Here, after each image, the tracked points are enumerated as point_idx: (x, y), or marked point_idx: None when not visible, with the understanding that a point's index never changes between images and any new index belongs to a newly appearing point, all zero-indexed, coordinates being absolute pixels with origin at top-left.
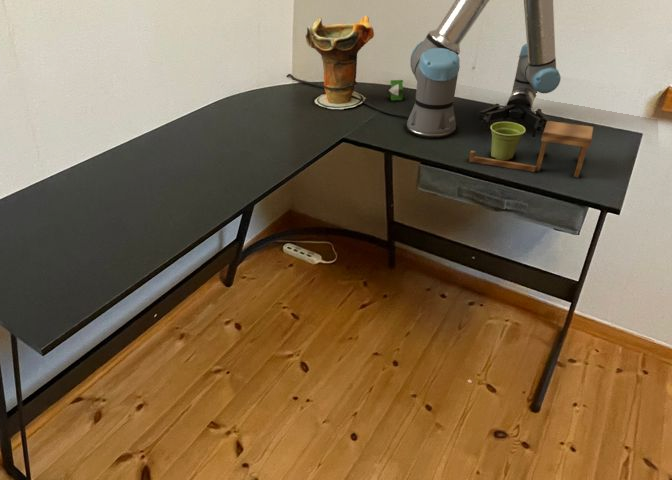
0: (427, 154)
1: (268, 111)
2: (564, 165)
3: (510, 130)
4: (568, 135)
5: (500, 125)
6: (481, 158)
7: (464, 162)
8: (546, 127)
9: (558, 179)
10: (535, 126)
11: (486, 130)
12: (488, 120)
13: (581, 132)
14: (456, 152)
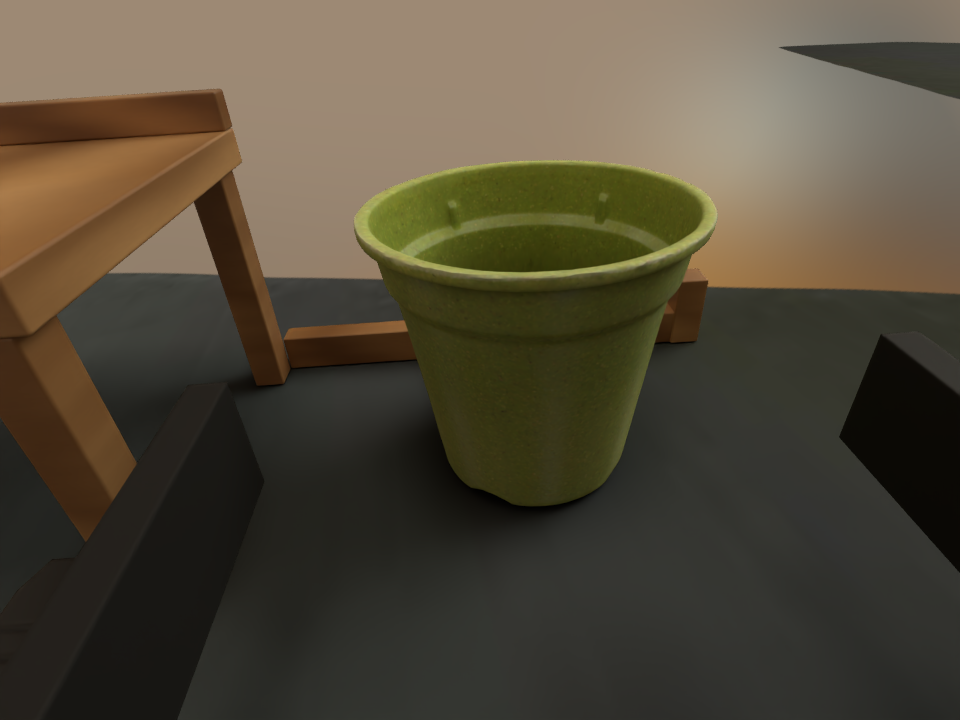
0: (954, 315)
1: None
2: (40, 490)
3: (527, 342)
4: (26, 101)
5: (655, 280)
6: None
7: (702, 317)
8: (125, 185)
9: (174, 343)
10: (188, 430)
11: (843, 438)
12: (932, 368)
13: None
14: (849, 384)
